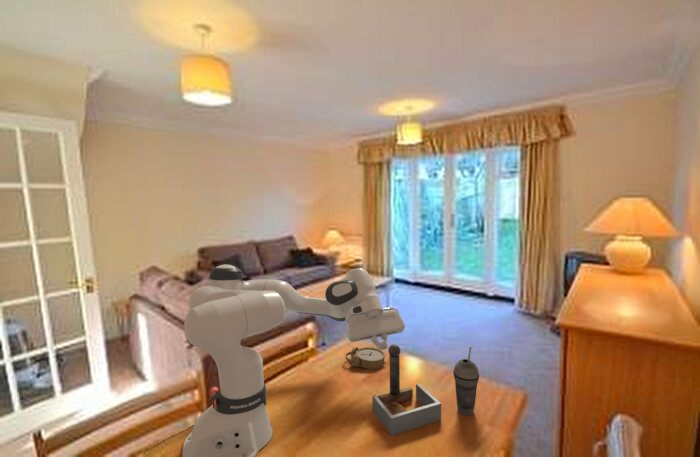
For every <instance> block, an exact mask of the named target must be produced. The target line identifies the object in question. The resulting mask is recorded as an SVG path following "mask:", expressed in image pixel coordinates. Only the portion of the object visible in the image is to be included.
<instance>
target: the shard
mask: <svg viewBox="0 0 700 457" xmlns="http://www.w3.org/2000/svg"><path fill="white" fill-rule="evenodd" d="M384 405H385V407H386V408H387V409H388V410H389V411H390V412H391V414H392V415H395V414H398V413H402V412H405V411H408V410H407V409H406V408H405V407H404V406H403V405H402V404H400V402H389V403H386V404H384Z"/></svg>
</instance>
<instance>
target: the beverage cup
mask: <svg viewBox="0 0 700 457" xmlns="http://www.w3.org/2000/svg"><path fill="white" fill-rule="evenodd" d="M471 352H472V347H471V346H469V348H468V357H467V358H465V359H464V358H463V359H460V360H458V361H457V362H456V363H455V365H454V367H453V371H452V372H453V379H454V383H455V384H454V385H455V386H454V387H455V397H456V406H457V412H458V413H459V414H461V415H462V416H466V417H467V416H468V417H469V416H472V415H473V414H475V411H474V410H475V406H476V399H477V398H476V397H477V390H478V383H479V380H480V379H479V378H480V372H479V368H478V366H477V365H476V364H475V362H473V361H472V360H471Z"/></svg>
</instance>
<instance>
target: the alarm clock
mask: <svg viewBox="0 0 700 457" xmlns="http://www.w3.org/2000/svg"><path fill="white" fill-rule="evenodd" d="M349 355H350V357H351V358H348V356H349ZM385 357H386V353H385V352H384V351H383V350H378V348H377V347H376V348H375V347H371V346H370V347H369V346H368V347H366V346H365V347H361V348H359V347H356V346H355V347H352V350H351V351H350V352H349V351H348V352H346V353H345V360H346V361H347V362H350V363H351V365H352V366H353V367H354V368H359V367H360V368H364V369H368V370H376V369H380V368H382V367H383V366H384V365H385V364H387V362H386V361H385Z"/></svg>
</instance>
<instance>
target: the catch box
mask: <svg viewBox="0 0 700 457" xmlns="http://www.w3.org/2000/svg"><path fill="white" fill-rule="evenodd" d="M377 396H378V395H376V394H372V396H371V399H372V413H373V414H374V415H375V416H376V418H377V419H378V421H379V422H380V423H381V424H382V425H383V427H384V428H385V429H386V430H387V432H388V433H389V435H390V436H395V435H399V434H402V433H404V432H409V431H410V430H414V429H418V428H421V427H424V426H427V425H429V424H433V423H435V422H439V421H442V402H440V401H439V400H438V399H437V398H436V397H435V396H434V395H433V394H431V393H430V392H429V391H428V390H427V389H426V388H425V387H424V386H423V385H422V384H420V383H415V399H416V401H417V402H419V404H421V406H420V407H416V408H413V409H412V408H411V409H410V410H409V409H408V410H407V411H405V412H402V413H398V414H395V415H392V414H391V412H390V411H389V410H388V409H387V408H386V407H385V405H384V404H383V403H382V402H381V401H380V399H379V398H378V397H377Z"/></svg>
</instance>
